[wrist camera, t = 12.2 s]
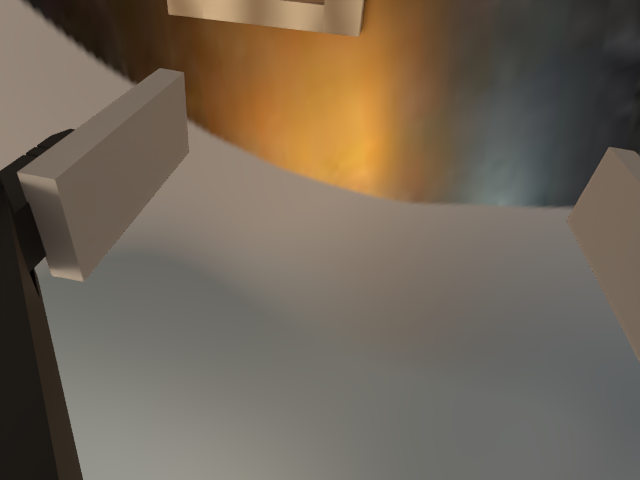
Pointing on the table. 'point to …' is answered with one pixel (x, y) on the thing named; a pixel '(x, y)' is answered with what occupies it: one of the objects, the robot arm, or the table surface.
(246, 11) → the oak holder
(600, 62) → the table surface
